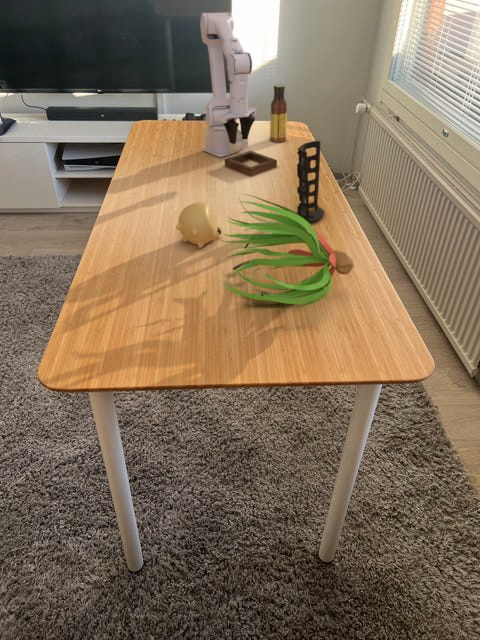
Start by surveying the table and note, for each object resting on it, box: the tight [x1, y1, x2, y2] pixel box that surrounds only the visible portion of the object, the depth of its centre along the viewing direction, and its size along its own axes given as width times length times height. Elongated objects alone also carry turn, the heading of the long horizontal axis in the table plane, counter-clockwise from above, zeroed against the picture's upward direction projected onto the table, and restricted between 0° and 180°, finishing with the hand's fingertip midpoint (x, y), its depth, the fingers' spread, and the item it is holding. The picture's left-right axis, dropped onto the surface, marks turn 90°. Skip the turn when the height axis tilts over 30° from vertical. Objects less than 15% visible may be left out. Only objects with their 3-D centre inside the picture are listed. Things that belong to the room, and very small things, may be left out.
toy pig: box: [175, 202, 222, 249], centre depth 131 cm, size 10×12×11 cm
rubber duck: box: [228, 128, 250, 153], centre depth 167 cm, size 5×7×8 cm
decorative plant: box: [216, 193, 355, 310], centre depth 108 cm, size 26×25×30 cm
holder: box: [296, 140, 325, 225], centre depth 141 cm, size 11×8×20 cm
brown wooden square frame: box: [224, 150, 278, 177], centre depth 176 cm, size 13×13×2 cm
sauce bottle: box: [269, 83, 288, 143], centre depth 194 cm, size 7×6×20 cm
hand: (238, 141), depth 167 cm, fingers closed on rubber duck, 5 cm apart
